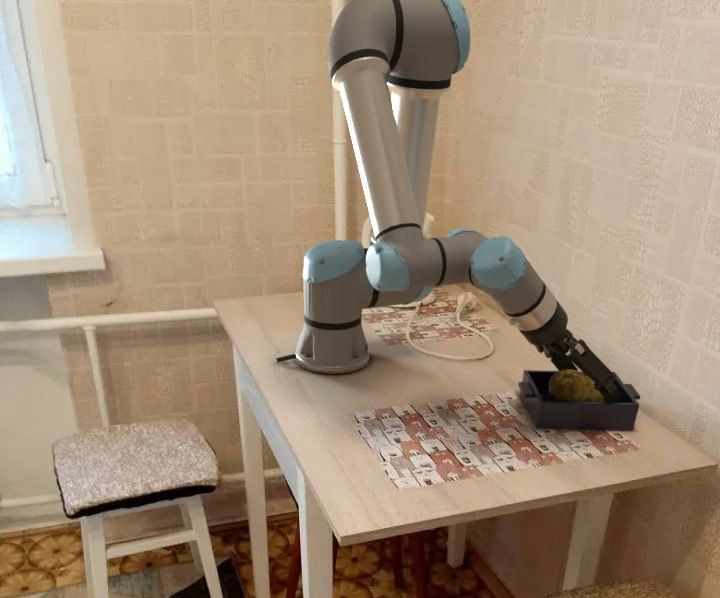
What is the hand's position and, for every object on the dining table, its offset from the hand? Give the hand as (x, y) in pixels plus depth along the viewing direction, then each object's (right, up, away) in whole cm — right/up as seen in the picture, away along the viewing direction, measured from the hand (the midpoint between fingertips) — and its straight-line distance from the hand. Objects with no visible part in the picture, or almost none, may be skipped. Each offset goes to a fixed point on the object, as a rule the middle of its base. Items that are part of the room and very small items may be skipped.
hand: (593, 386), depth 134 cm
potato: (-3, -4, +2) cm, 5 cm away
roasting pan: (-3, -4, +2) cm, 6 cm away
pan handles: (-3, -1, 0) cm, 3 cm away
